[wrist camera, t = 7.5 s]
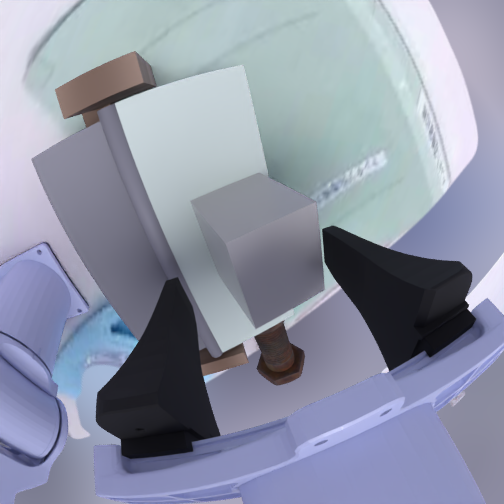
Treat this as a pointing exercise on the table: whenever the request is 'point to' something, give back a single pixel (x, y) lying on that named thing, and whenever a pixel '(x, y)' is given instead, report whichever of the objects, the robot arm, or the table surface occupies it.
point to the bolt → (279, 356)
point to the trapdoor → (158, 197)
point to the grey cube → (263, 244)
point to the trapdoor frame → (88, 103)
